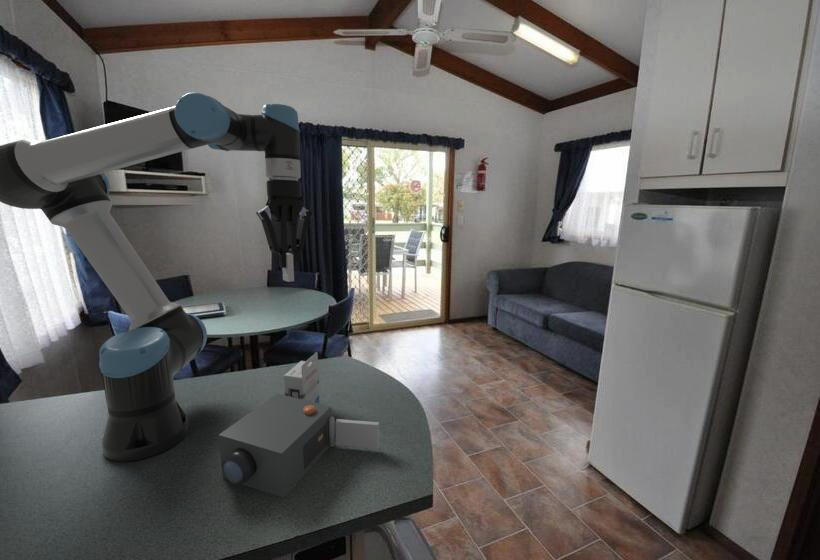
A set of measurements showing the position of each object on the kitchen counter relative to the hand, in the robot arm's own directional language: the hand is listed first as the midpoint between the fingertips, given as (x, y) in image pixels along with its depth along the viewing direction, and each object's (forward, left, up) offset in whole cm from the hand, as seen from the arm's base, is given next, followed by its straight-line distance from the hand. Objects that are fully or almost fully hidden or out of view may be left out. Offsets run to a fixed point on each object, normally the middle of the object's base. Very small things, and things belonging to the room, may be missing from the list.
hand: (288, 280), depth 89 cm
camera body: (+12, -20, -32) cm, 40 cm away
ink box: (+5, -3, -33) cm, 33 cm away
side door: (+24, -10, -31) cm, 41 cm away
